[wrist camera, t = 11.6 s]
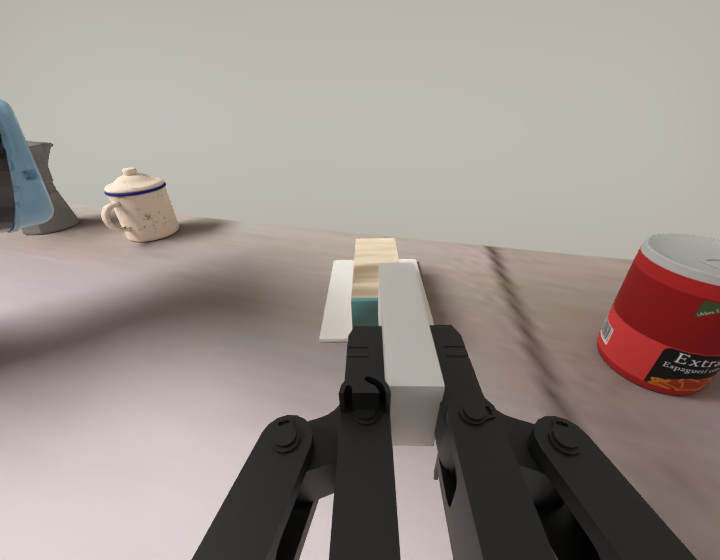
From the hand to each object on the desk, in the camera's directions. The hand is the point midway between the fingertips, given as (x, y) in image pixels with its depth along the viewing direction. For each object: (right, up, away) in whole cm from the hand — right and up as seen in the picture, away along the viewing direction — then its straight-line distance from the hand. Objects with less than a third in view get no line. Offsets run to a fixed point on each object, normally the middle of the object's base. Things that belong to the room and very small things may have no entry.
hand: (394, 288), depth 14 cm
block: (0, -4, +16) cm, 16 cm away
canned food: (+24, -7, +14) cm, 29 cm away
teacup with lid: (-41, +8, +43) cm, 60 cm away
